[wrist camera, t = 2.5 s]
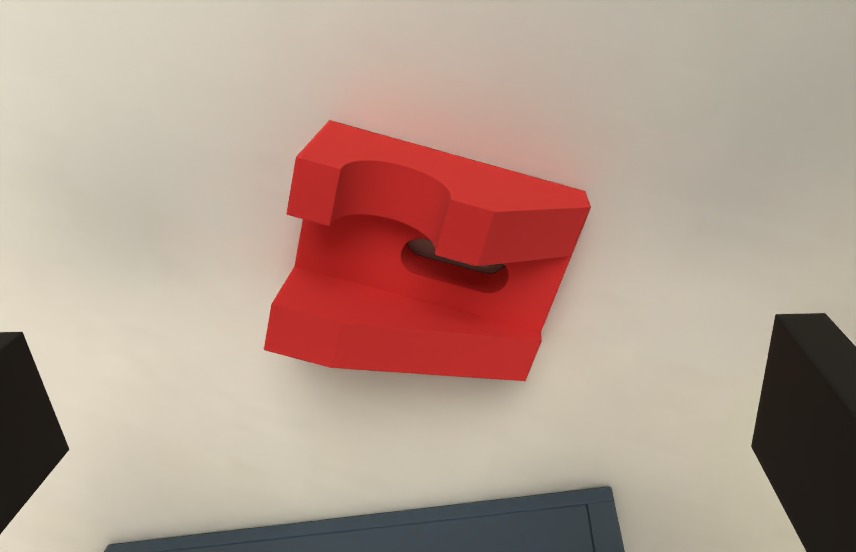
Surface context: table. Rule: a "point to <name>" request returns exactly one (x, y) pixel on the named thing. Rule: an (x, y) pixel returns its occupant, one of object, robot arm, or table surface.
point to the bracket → (419, 259)
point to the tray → (431, 529)
